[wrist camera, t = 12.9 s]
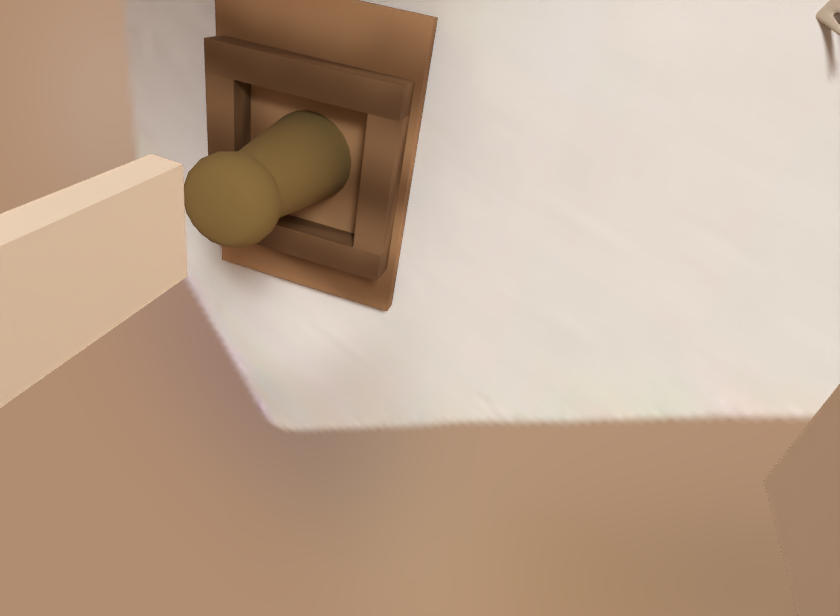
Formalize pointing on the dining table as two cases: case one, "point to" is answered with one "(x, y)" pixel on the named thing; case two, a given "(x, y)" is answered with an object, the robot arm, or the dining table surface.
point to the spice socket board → (343, 105)
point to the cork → (267, 179)
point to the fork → (830, 15)
